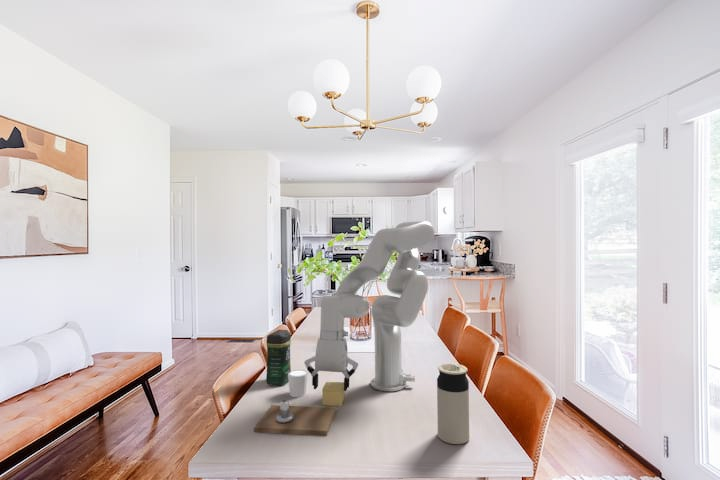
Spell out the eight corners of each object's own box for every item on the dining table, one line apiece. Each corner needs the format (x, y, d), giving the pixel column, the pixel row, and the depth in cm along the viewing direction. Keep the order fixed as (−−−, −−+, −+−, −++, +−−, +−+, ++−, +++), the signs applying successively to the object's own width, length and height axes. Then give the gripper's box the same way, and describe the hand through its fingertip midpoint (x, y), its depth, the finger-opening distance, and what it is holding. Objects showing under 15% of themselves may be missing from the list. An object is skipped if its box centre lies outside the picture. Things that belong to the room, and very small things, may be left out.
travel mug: (442, 446, 93) (441, 373, 93) (434, 430, 101) (433, 363, 101) (473, 444, 94) (473, 372, 94) (463, 428, 101) (462, 362, 102)
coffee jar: (284, 387, 132) (284, 334, 132) (263, 386, 133) (263, 333, 133) (293, 377, 142) (293, 328, 142) (274, 376, 143) (273, 327, 143)
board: (336, 411, 113) (335, 407, 113) (326, 435, 99) (326, 430, 99) (271, 408, 115) (271, 404, 115) (253, 431, 101) (253, 427, 101)
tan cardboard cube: (344, 397, 123) (344, 382, 123) (341, 405, 117) (341, 389, 117) (326, 397, 123) (326, 381, 123) (322, 404, 117) (322, 388, 117)
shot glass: (291, 399, 122) (291, 377, 122) (285, 392, 128) (285, 371, 128) (311, 395, 125) (311, 374, 125) (304, 388, 131) (304, 368, 131)
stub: (295, 416, 107) (295, 398, 107) (290, 424, 103) (290, 405, 103) (279, 415, 108) (279, 398, 108) (273, 423, 103) (273, 405, 103)
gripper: (360, 333, 123) (358, 386, 122) (308, 331, 125) (307, 383, 124) (357, 338, 115) (356, 395, 115) (302, 336, 117) (301, 391, 117)
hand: (330, 388), depth 119 cm, fingers open, 9 cm apart
